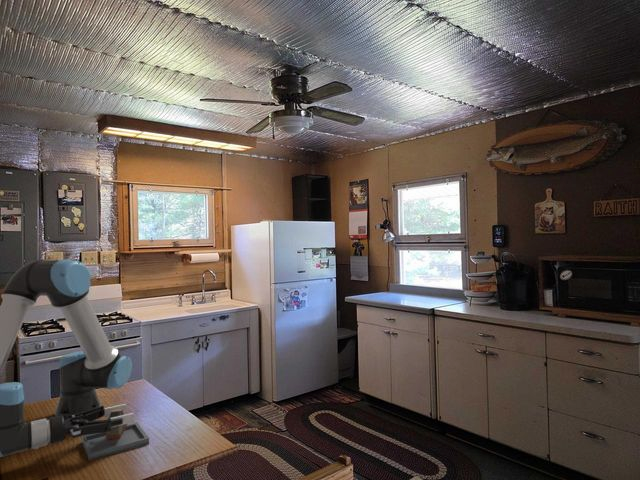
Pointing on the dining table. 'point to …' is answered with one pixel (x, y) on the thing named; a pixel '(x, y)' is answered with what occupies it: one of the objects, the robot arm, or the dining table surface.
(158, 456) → the dining table surface
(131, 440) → the dock tray
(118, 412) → the electronic device
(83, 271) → the robot arm
